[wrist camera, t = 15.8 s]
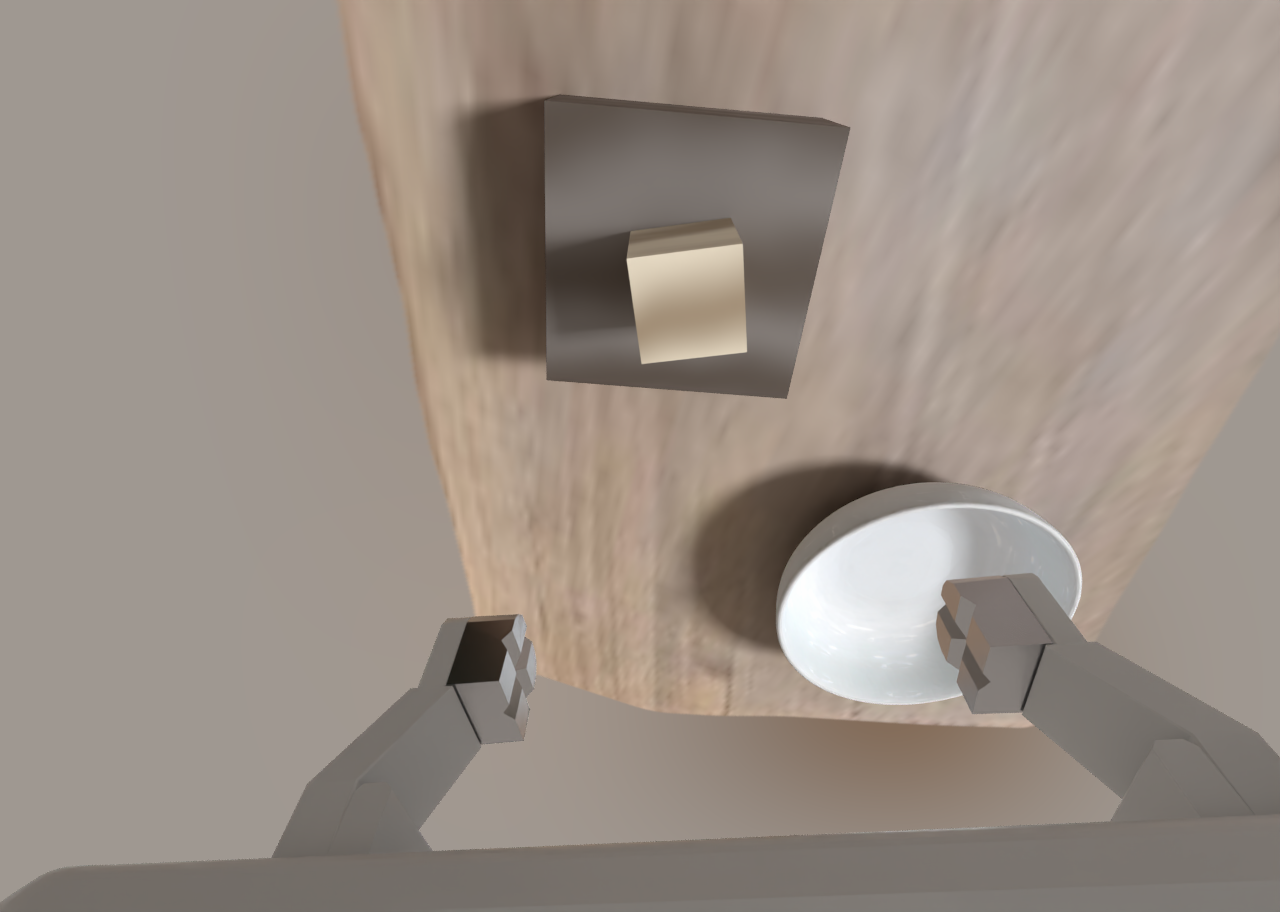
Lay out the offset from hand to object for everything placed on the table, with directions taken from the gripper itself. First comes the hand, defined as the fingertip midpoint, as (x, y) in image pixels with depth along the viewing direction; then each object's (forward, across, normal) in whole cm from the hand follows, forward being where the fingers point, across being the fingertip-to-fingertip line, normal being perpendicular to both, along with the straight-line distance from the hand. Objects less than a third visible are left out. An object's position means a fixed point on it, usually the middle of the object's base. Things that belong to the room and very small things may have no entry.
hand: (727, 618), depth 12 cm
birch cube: (+23, 0, 0) cm, 23 cm away
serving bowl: (+29, -15, +27) cm, 42 cm away
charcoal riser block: (+29, 0, 0) cm, 29 cm away
